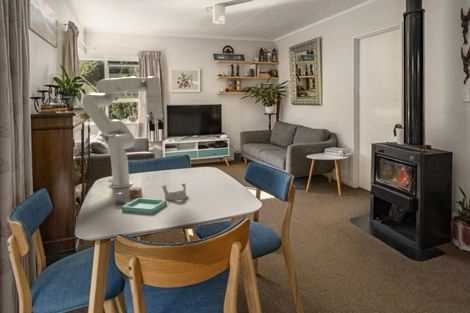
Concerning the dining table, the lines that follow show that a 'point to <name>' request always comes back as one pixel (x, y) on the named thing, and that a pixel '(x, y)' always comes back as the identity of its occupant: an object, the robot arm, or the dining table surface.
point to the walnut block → (135, 193)
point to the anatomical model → (174, 196)
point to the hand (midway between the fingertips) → (156, 130)
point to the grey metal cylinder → (120, 198)
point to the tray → (144, 205)
